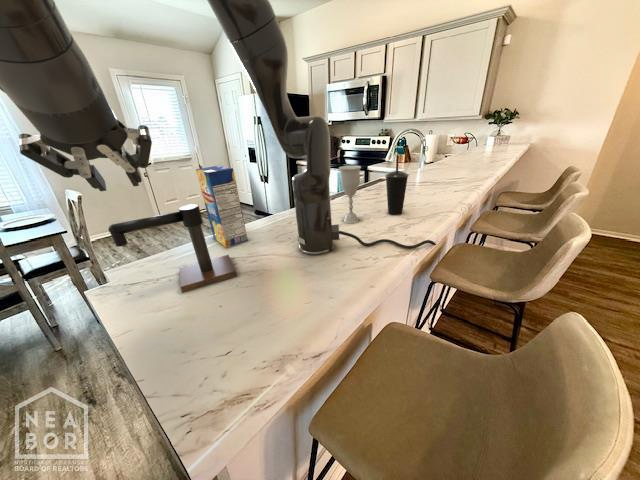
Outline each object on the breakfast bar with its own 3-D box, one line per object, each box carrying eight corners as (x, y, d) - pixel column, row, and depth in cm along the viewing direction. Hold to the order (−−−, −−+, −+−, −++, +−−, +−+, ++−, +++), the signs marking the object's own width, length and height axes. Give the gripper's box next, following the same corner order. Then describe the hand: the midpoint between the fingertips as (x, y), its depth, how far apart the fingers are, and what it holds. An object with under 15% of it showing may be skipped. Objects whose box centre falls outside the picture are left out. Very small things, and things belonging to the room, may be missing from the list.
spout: (203, 224, 62) (197, 203, 60) (205, 229, 59) (199, 207, 56) (117, 242, 55) (107, 219, 53) (113, 249, 52) (103, 225, 50)
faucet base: (229, 259, 71) (218, 213, 66) (237, 276, 63) (225, 225, 57) (181, 272, 66) (164, 224, 61) (182, 292, 58) (163, 239, 53)
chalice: (364, 218, 92) (364, 165, 84) (356, 225, 87) (355, 169, 79) (346, 216, 95) (344, 165, 88) (337, 222, 90) (334, 169, 83)
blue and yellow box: (226, 247, 78) (208, 172, 69) (213, 237, 86) (195, 169, 77) (248, 240, 82) (233, 168, 73) (233, 231, 90) (218, 165, 80)
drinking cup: (383, 210, 98) (384, 154, 90) (404, 209, 97) (407, 153, 89) (384, 217, 92) (386, 157, 83) (407, 216, 90) (411, 156, 82)
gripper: (129, 60, 30) (164, 159, 45) (-47, 57, 25) (60, 171, 40) (140, 107, 28) (174, 195, 43) (-49, 116, 23) (65, 213, 38)
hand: (119, 183), depth 42 cm, fingers open, 3 cm apart
